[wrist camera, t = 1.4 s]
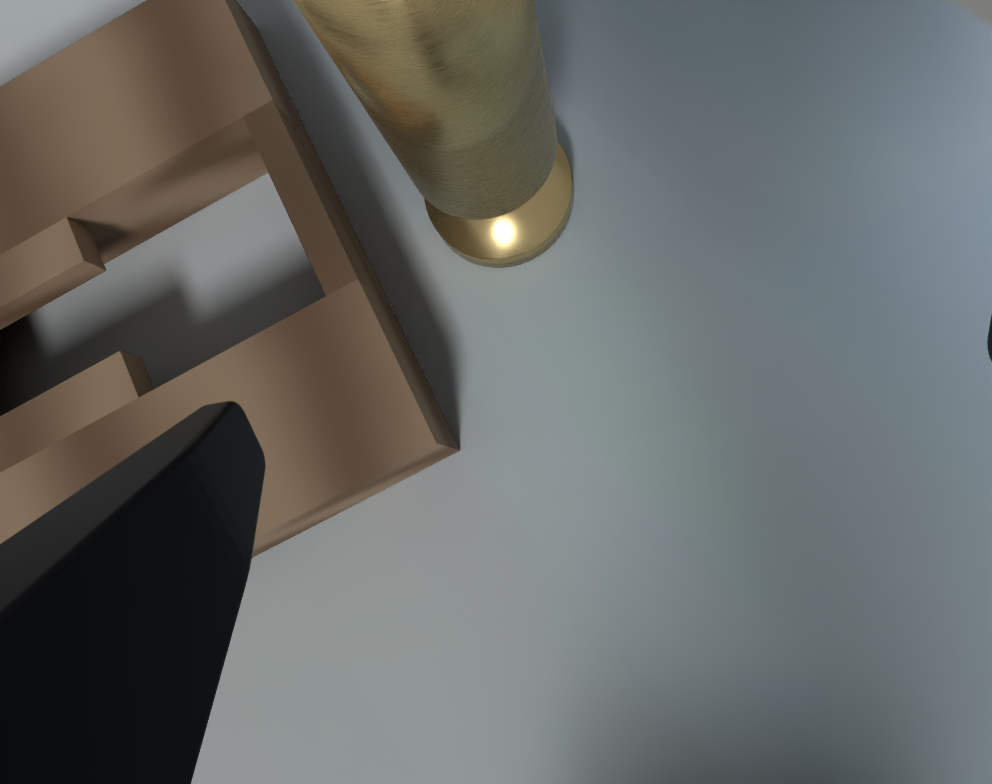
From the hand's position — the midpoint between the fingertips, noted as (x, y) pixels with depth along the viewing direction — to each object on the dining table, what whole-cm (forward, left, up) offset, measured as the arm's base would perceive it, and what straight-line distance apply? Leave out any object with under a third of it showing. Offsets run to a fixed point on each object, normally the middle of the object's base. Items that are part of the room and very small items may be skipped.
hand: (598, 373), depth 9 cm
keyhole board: (-11, +11, -13) cm, 20 cm away
